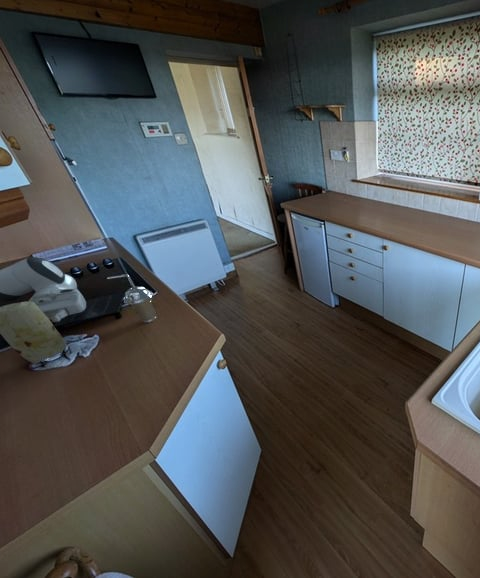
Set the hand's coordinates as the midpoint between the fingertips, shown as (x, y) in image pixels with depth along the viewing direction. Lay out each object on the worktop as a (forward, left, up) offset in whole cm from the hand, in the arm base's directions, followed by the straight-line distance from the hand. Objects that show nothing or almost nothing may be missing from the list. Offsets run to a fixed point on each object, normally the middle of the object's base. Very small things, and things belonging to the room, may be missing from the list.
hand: (33, 324), depth 89 cm
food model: (0, -4, -11) cm, 12 cm away
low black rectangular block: (+7, +20, -11) cm, 23 cm away
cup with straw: (+25, +6, -11) cm, 28 cm away
